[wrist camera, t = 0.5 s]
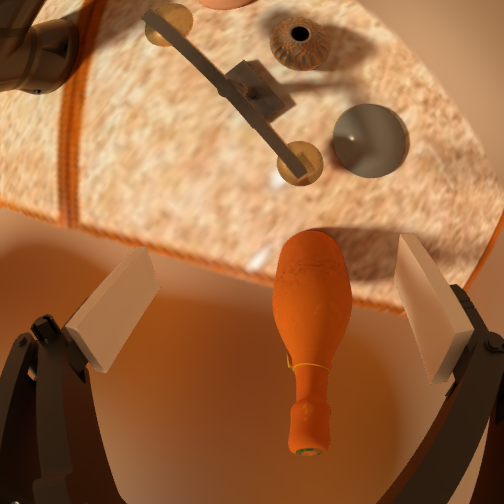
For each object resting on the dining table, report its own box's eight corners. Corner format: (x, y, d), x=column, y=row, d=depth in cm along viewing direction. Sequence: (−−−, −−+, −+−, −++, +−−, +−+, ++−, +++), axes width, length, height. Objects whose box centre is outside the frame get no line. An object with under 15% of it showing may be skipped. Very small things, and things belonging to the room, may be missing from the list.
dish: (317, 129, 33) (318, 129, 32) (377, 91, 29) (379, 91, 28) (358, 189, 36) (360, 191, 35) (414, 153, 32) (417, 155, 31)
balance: (176, 43, 29) (113, 21, 16) (204, 19, 27) (152, -18, 14) (295, 180, 37) (293, 226, 24) (327, 159, 35) (344, 194, 22)
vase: (302, 19, 26) (303, -5, 18) (337, 56, 28) (349, 41, 20) (262, 46, 29) (250, 29, 21) (296, 83, 31) (296, 76, 23)
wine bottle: (267, 244, 43) (218, 437, 17) (325, 215, 39) (352, 417, 13) (297, 290, 46) (281, 472, 20) (352, 267, 42) (383, 456, 16)
